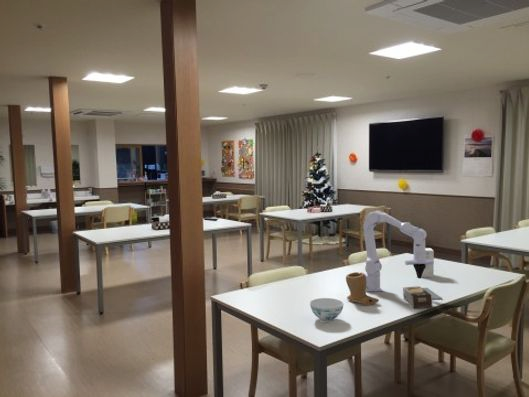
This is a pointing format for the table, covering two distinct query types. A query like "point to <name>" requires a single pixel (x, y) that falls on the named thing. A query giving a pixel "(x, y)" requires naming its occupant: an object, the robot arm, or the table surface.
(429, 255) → the supplement box
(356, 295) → the brown boot shaped vase
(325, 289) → the table surface
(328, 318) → the chinaware
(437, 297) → the mat
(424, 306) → the coffee box
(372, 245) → the robot arm
